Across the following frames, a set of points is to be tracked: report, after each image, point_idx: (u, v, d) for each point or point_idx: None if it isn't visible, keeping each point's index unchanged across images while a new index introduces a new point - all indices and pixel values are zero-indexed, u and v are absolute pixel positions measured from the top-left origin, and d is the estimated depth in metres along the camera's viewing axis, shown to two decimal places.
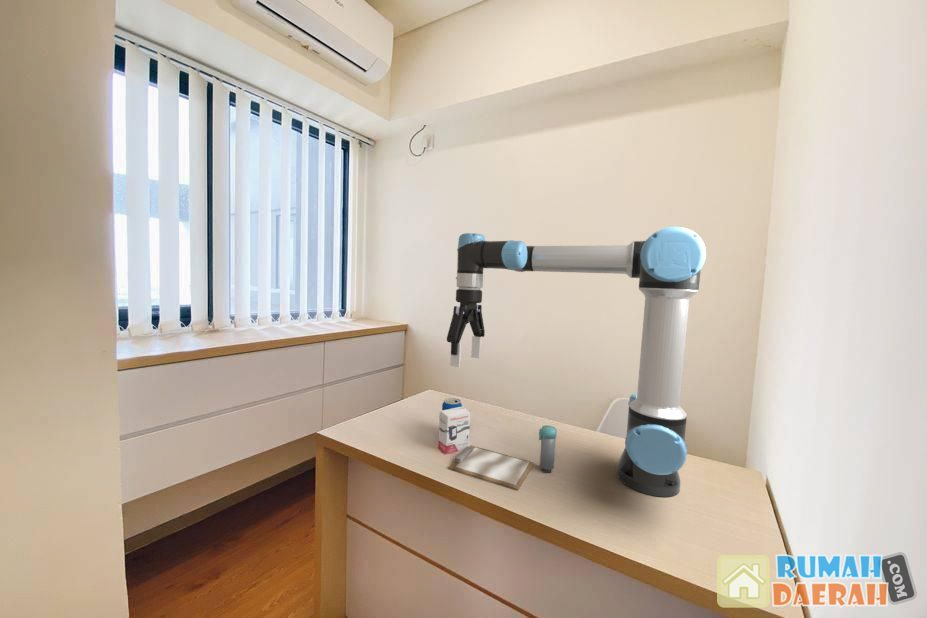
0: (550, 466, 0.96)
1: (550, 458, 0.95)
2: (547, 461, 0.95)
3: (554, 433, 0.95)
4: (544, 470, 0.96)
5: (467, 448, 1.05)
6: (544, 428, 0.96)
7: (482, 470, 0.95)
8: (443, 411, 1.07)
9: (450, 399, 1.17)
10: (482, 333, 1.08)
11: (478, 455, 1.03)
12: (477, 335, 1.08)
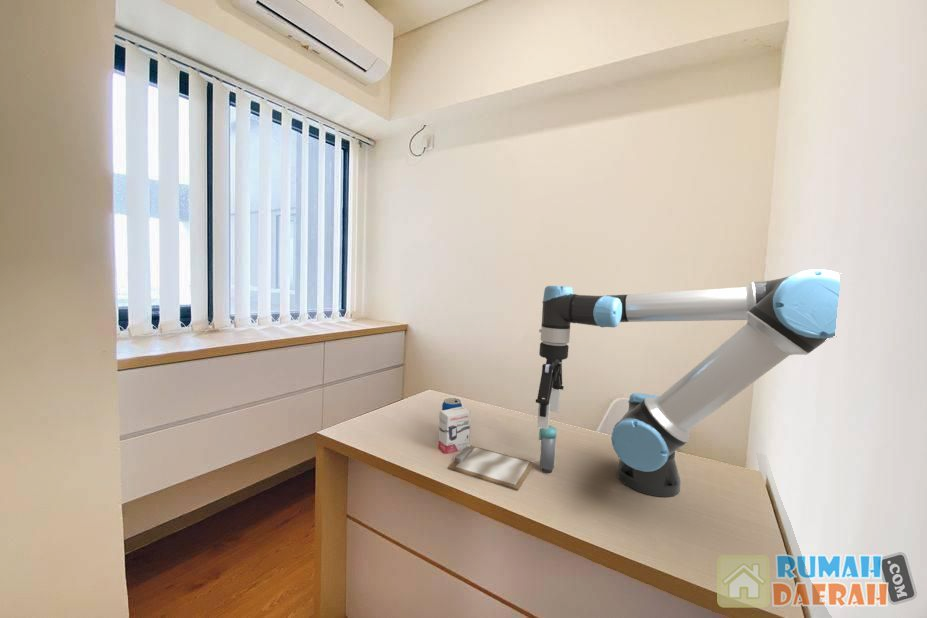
0: (550, 466, 0.96)
1: (550, 458, 0.95)
2: (547, 461, 0.95)
3: (554, 433, 0.95)
4: (544, 470, 0.96)
5: (467, 448, 1.05)
6: None
7: (482, 470, 0.95)
8: (443, 411, 1.07)
9: (450, 399, 1.17)
10: (561, 385, 1.03)
11: (478, 455, 1.03)
12: (556, 388, 1.02)
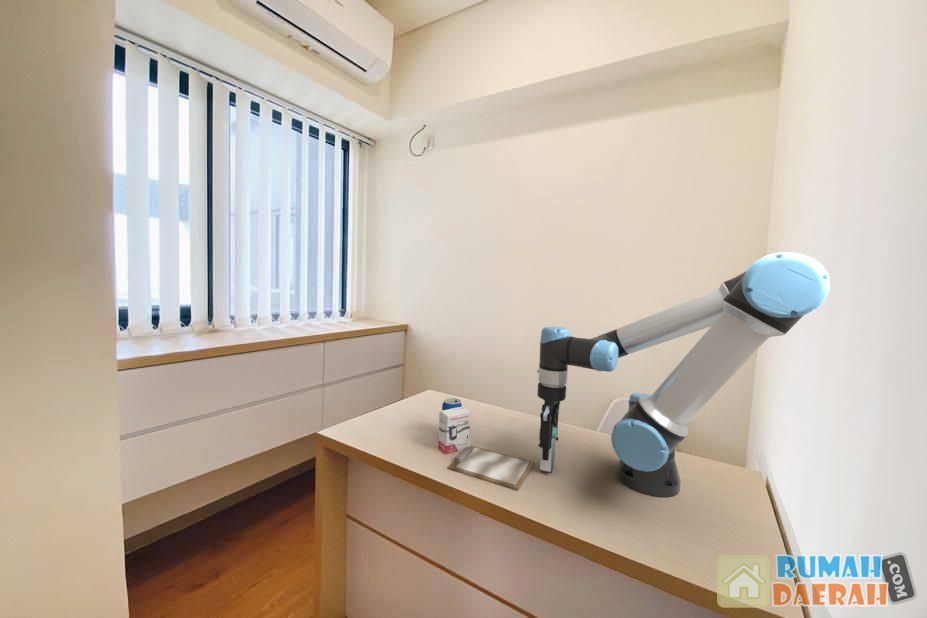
0: None
1: None
2: None
3: (554, 433, 0.95)
4: None
5: (467, 448, 1.05)
6: None
7: (482, 470, 0.95)
8: (443, 411, 1.07)
9: (450, 399, 1.17)
10: (556, 437, 1.00)
11: (478, 455, 1.03)
12: None
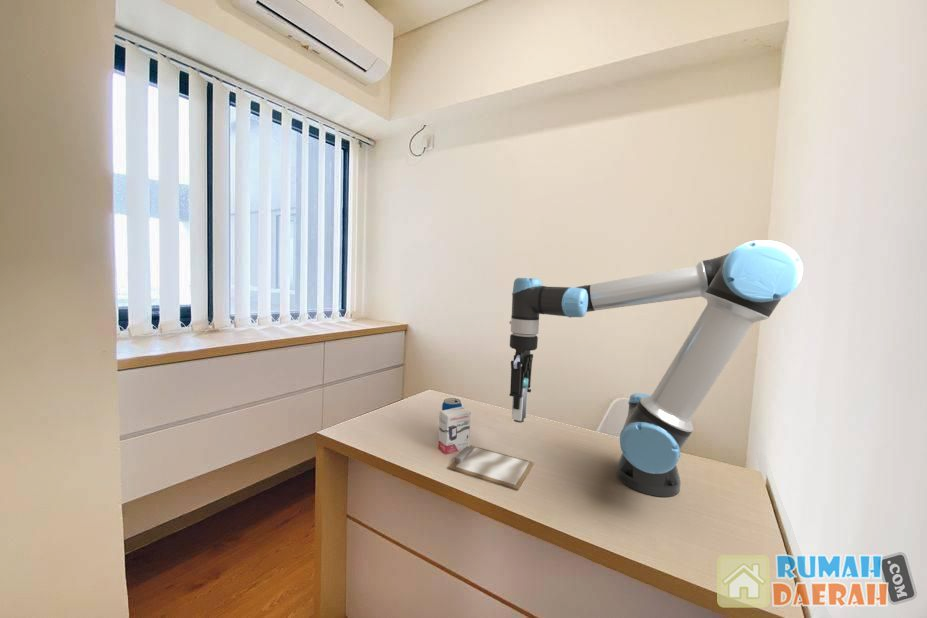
0: (522, 415, 0.96)
1: None
2: None
3: (525, 382, 0.96)
4: (516, 420, 0.97)
5: (467, 448, 1.05)
6: None
7: (482, 470, 0.95)
8: (443, 411, 1.07)
9: (450, 399, 1.17)
10: (528, 389, 1.00)
11: (478, 455, 1.03)
12: None
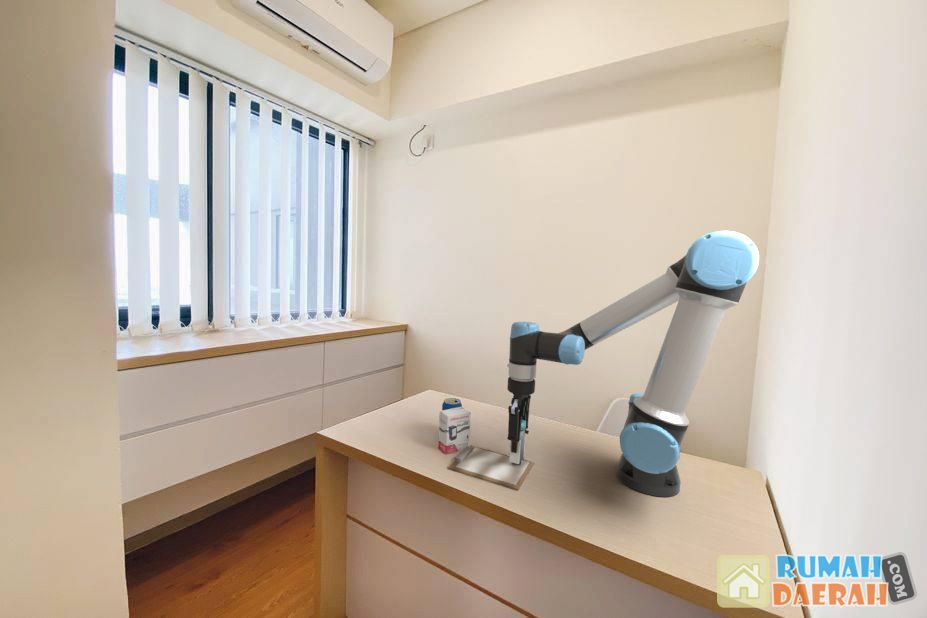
0: None
1: None
2: None
3: (523, 426, 0.97)
4: None
5: (467, 448, 1.05)
6: None
7: (482, 470, 0.95)
8: (443, 411, 1.07)
9: (450, 399, 1.17)
10: (526, 430, 1.01)
11: (478, 455, 1.03)
12: None
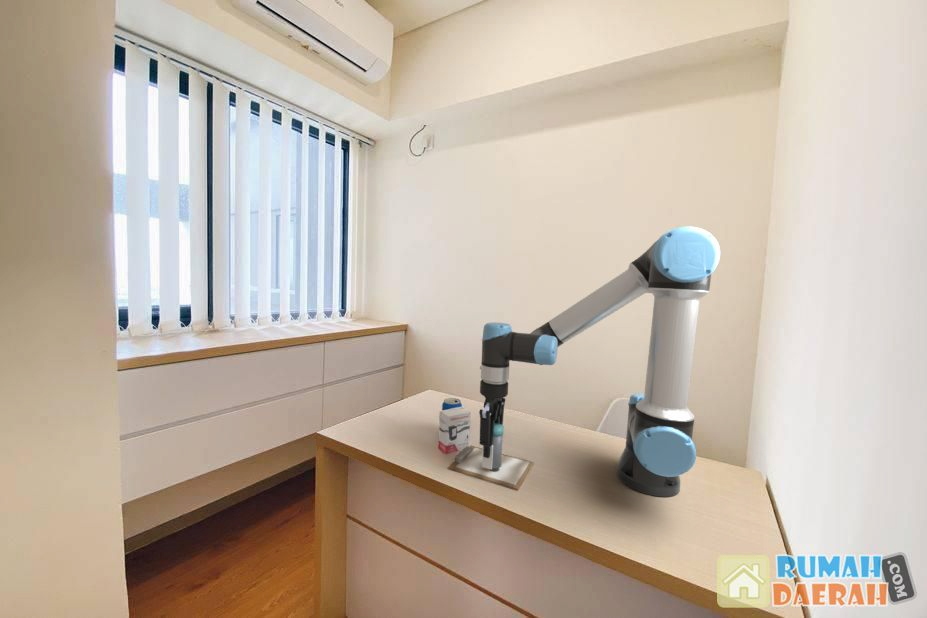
0: (498, 464, 0.94)
1: (497, 456, 0.94)
2: (495, 459, 0.94)
3: (501, 430, 0.93)
4: (492, 469, 0.94)
5: (467, 448, 1.05)
6: None
7: (482, 470, 0.95)
8: (443, 411, 1.07)
9: (450, 399, 1.17)
10: None
11: (478, 455, 1.03)
12: None
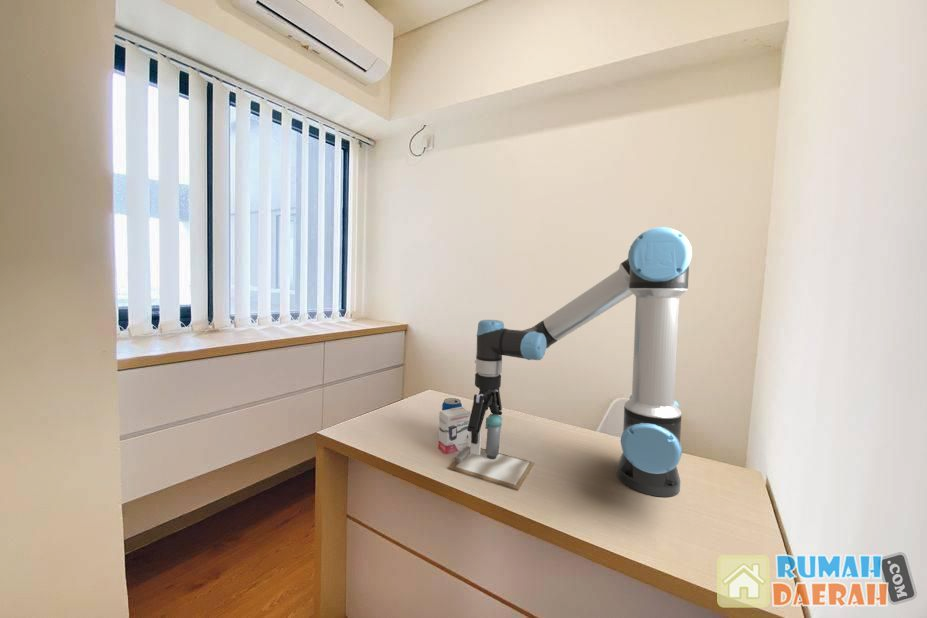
0: (495, 453, 1.00)
1: (495, 445, 1.00)
2: (492, 448, 1.00)
3: (500, 421, 1.00)
4: (489, 457, 1.01)
5: (467, 448, 1.05)
6: (490, 417, 1.00)
7: (482, 470, 0.95)
8: (443, 411, 1.07)
9: (450, 399, 1.17)
10: (499, 411, 1.09)
11: (478, 455, 1.03)
12: (495, 413, 1.09)
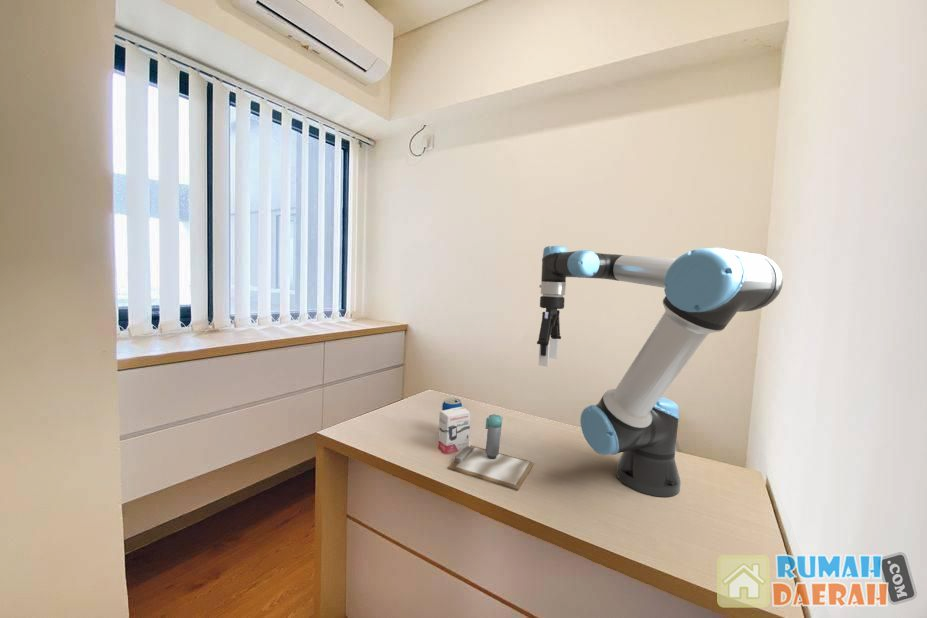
0: (495, 453, 1.00)
1: (495, 445, 1.00)
2: (493, 448, 1.00)
3: (500, 422, 1.00)
4: (490, 457, 1.01)
5: (467, 448, 1.05)
6: (491, 417, 1.00)
7: (482, 470, 0.95)
8: (443, 411, 1.07)
9: (450, 399, 1.17)
10: (559, 336, 1.19)
11: (478, 455, 1.03)
12: (554, 337, 1.19)
